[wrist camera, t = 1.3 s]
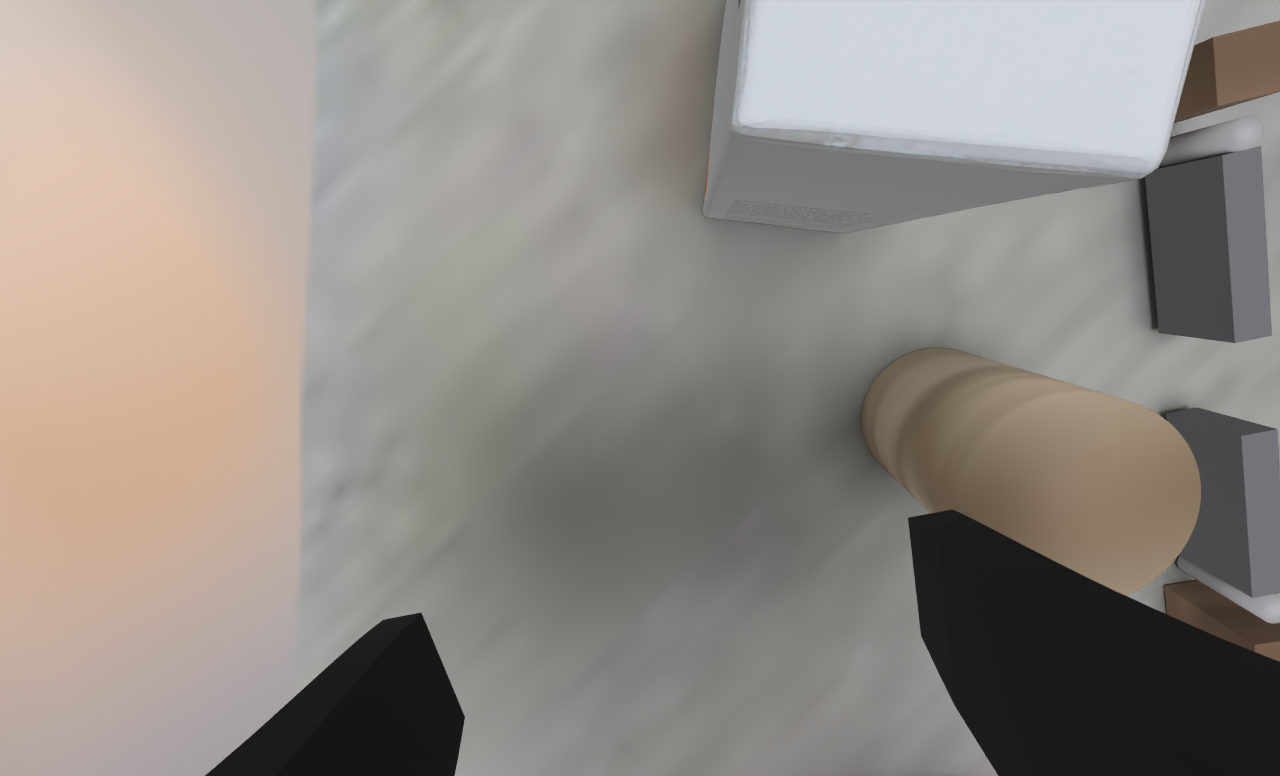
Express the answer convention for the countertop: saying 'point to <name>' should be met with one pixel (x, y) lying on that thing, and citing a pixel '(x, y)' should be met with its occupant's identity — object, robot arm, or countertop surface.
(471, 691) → the countertop surface
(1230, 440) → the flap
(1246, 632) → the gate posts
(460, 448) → the countertop surface
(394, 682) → the robot arm
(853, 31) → the skincare box
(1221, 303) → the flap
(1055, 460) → the peg
